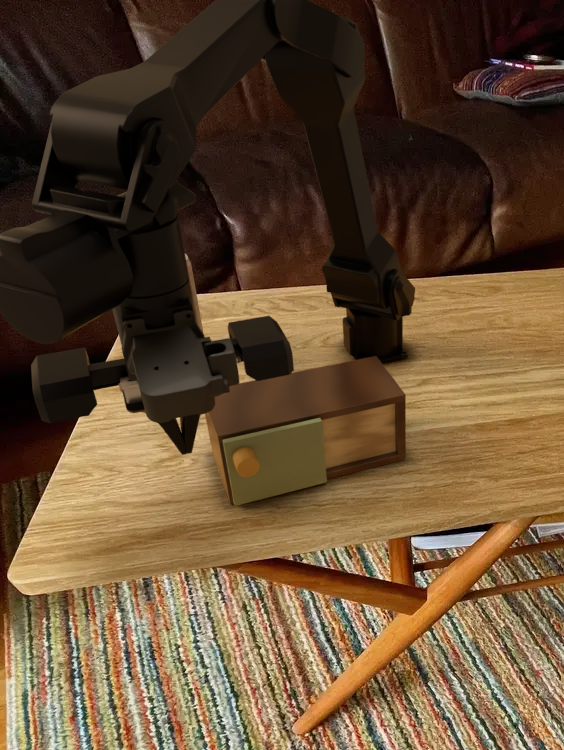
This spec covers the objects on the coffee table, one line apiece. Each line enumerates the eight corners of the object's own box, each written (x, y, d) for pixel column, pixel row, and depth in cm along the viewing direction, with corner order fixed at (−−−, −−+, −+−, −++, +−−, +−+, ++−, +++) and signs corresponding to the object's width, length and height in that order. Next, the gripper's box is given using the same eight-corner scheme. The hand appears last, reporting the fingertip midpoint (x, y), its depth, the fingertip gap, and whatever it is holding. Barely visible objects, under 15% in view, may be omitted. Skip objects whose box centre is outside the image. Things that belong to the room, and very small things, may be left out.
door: (325, 478, 75) (320, 417, 70) (333, 494, 73) (328, 432, 69) (233, 502, 72) (222, 439, 67) (239, 519, 70) (228, 456, 65)
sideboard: (378, 418, 84) (376, 355, 79) (405, 459, 78) (405, 394, 74) (213, 456, 78) (200, 390, 73) (230, 504, 72) (217, 436, 67)
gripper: (5, 358, 46) (74, 543, 55) (305, 306, 53) (321, 480, 62) (4, 283, 54) (64, 456, 63) (265, 247, 60) (284, 408, 70)
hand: (186, 451), depth 64 cm, fingers closed
